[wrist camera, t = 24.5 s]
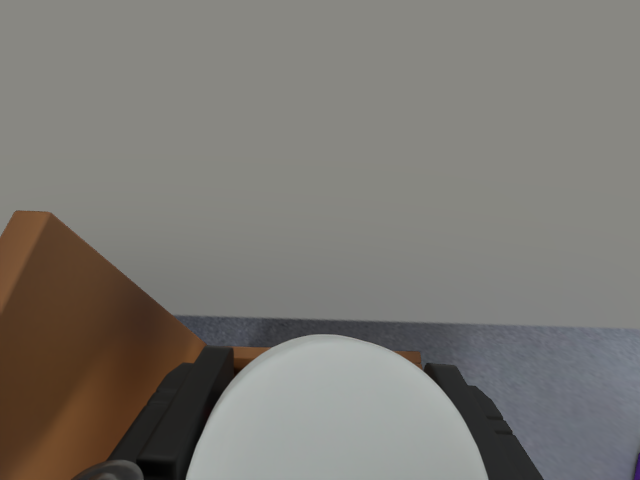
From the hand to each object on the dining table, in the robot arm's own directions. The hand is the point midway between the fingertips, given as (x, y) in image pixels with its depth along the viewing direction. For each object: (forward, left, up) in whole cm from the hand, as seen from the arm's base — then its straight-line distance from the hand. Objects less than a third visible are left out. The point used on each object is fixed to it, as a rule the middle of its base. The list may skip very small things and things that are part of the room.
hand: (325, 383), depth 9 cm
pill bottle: (0, +2, -5) cm, 5 cm away
